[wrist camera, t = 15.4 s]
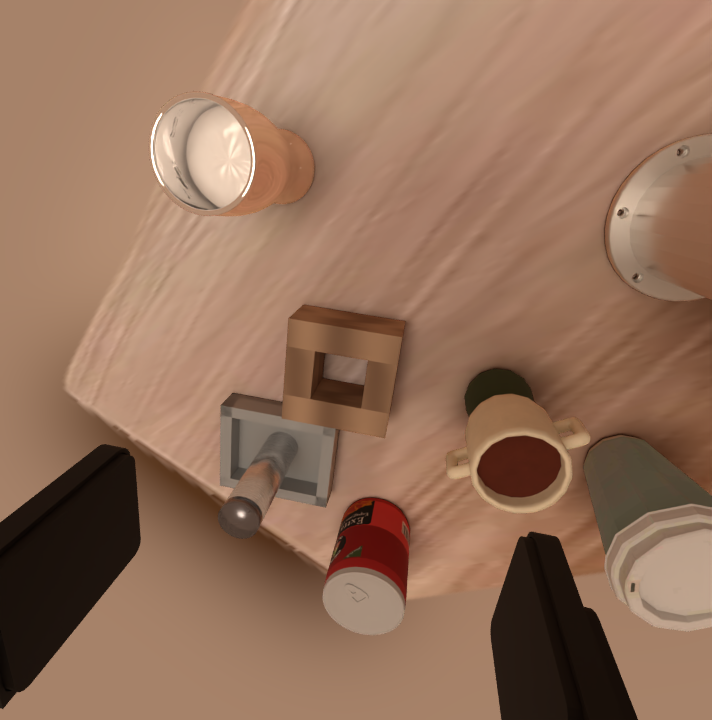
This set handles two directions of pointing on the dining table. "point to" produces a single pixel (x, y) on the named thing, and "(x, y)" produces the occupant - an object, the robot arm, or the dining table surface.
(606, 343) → the dining table surface
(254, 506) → the pin
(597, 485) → the disposable coffee cup
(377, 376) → the block
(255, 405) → the tray
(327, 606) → the canned food
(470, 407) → the character mug
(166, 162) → the beer glass
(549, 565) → the robot arm
